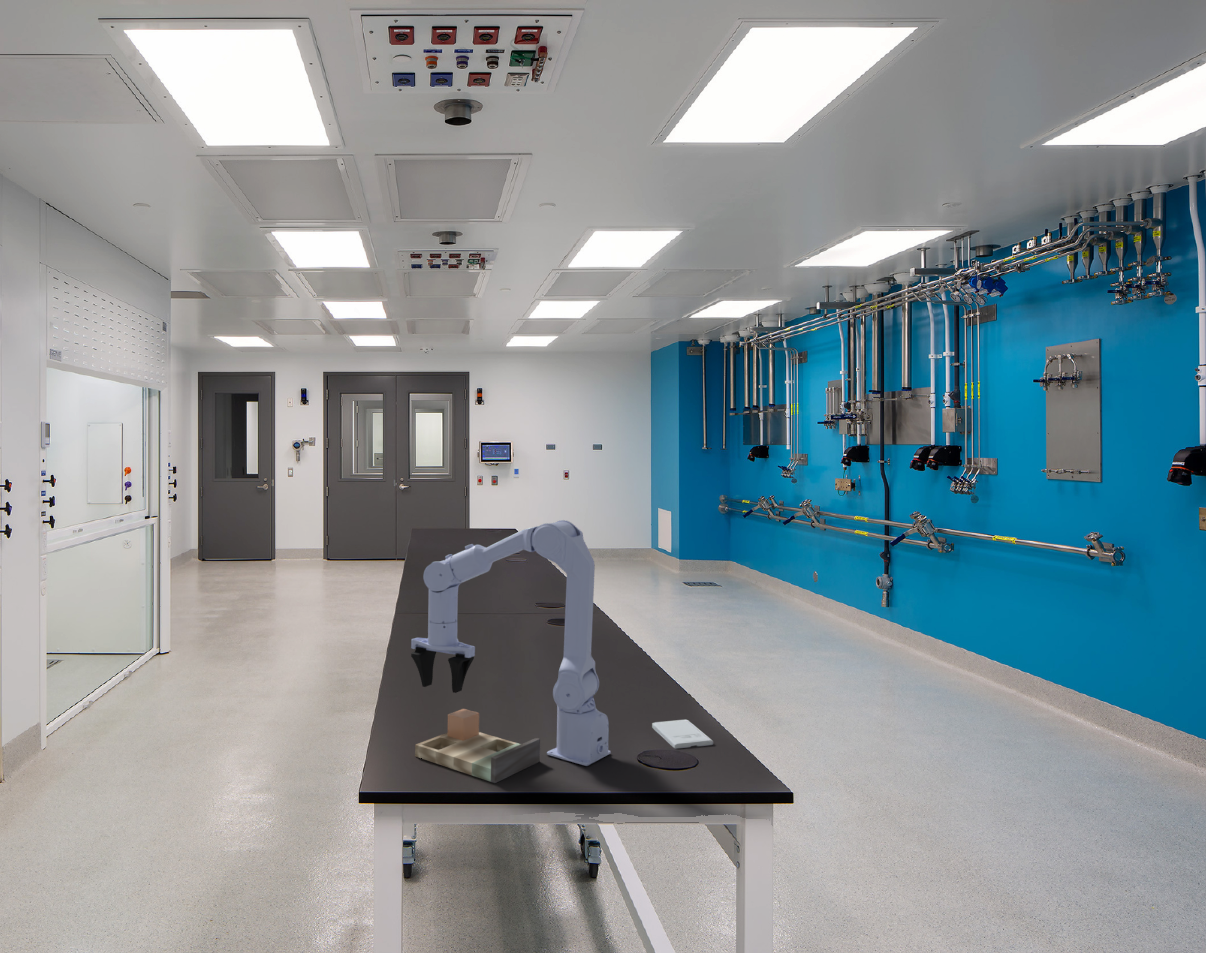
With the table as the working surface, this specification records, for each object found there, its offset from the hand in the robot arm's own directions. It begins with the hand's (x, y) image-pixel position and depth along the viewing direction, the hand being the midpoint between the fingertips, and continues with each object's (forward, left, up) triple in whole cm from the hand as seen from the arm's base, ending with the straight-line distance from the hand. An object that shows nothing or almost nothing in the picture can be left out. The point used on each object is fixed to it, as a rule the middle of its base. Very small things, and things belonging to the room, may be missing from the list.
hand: (441, 688), depth 154 cm
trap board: (-14, +4, -10) cm, 18 cm away
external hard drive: (-38, -30, -10) cm, 49 cm away
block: (-8, +1, -7) cm, 11 cm away
